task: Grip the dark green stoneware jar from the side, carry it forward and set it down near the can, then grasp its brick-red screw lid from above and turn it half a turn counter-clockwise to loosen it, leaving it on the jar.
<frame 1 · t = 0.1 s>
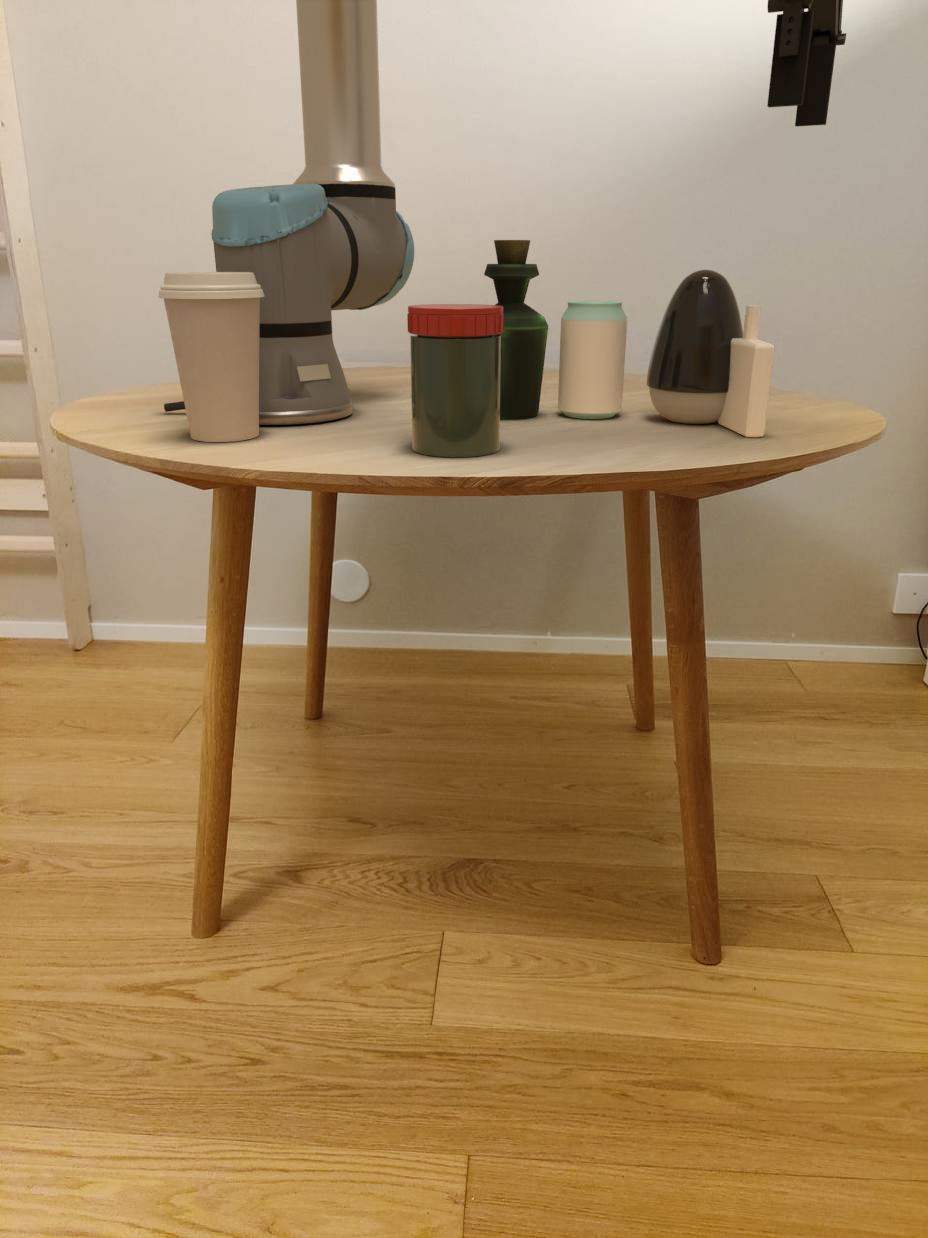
hand: (798, 116, 82), 28 cm above the table, tool pointing down, fingers open, 13 cm apart
perfume bottle: (739, 431, 93), on the table, touching black and white egg
coffee cup: (225, 438, 90), on the table
jar: (456, 448, 84), on the table
lid: (455, 312, 80), point 12 cm above the table, screwed on, not yet turned
can: (589, 416, 103), on the table
black and white egg: (691, 421, 99), on the table, touching perfume bottle
potion bottle: (508, 416, 103), on the table
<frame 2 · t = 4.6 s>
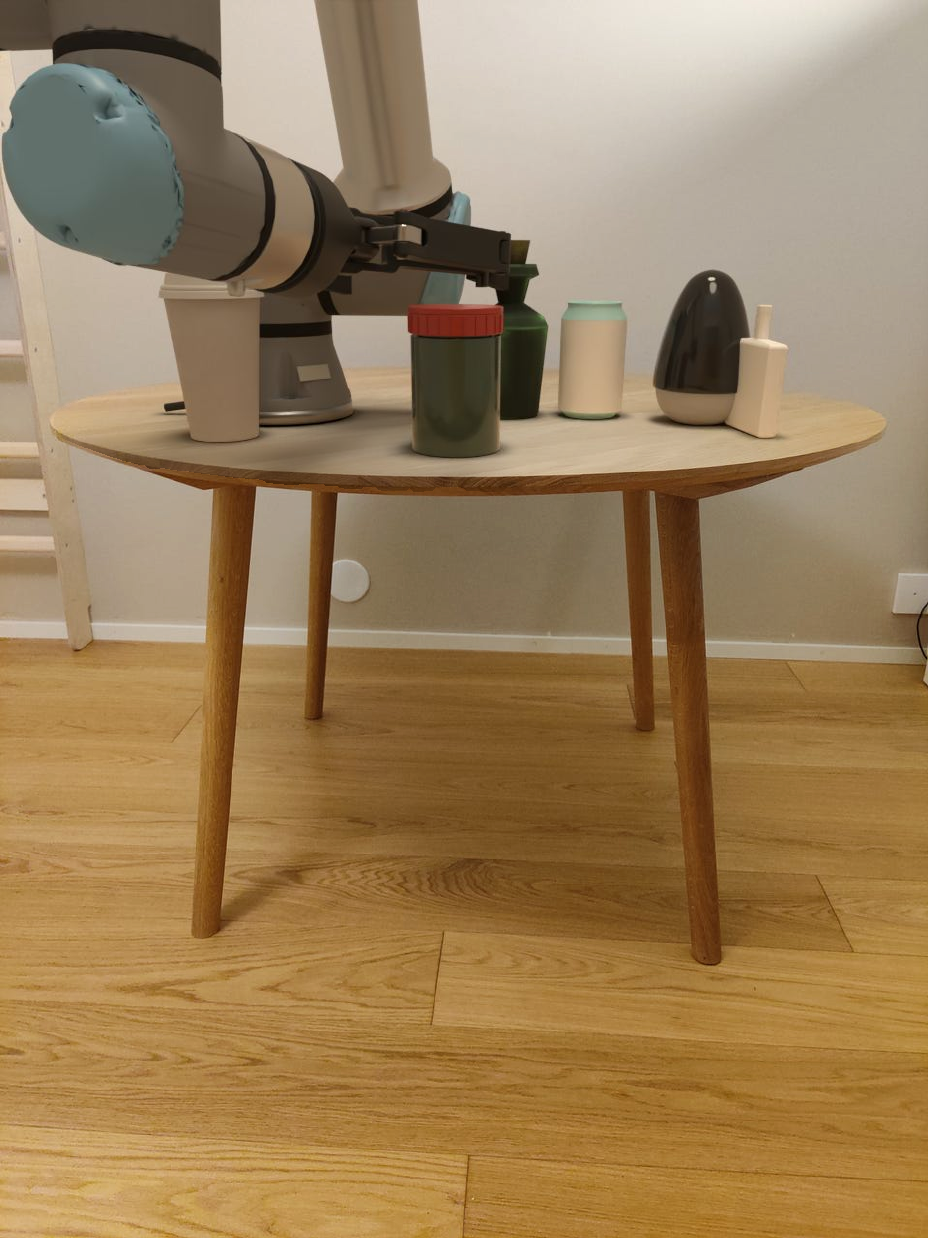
hand: (423, 274, 72), 15 cm above the table, tool horizontal, fingers open, 13 cm apart
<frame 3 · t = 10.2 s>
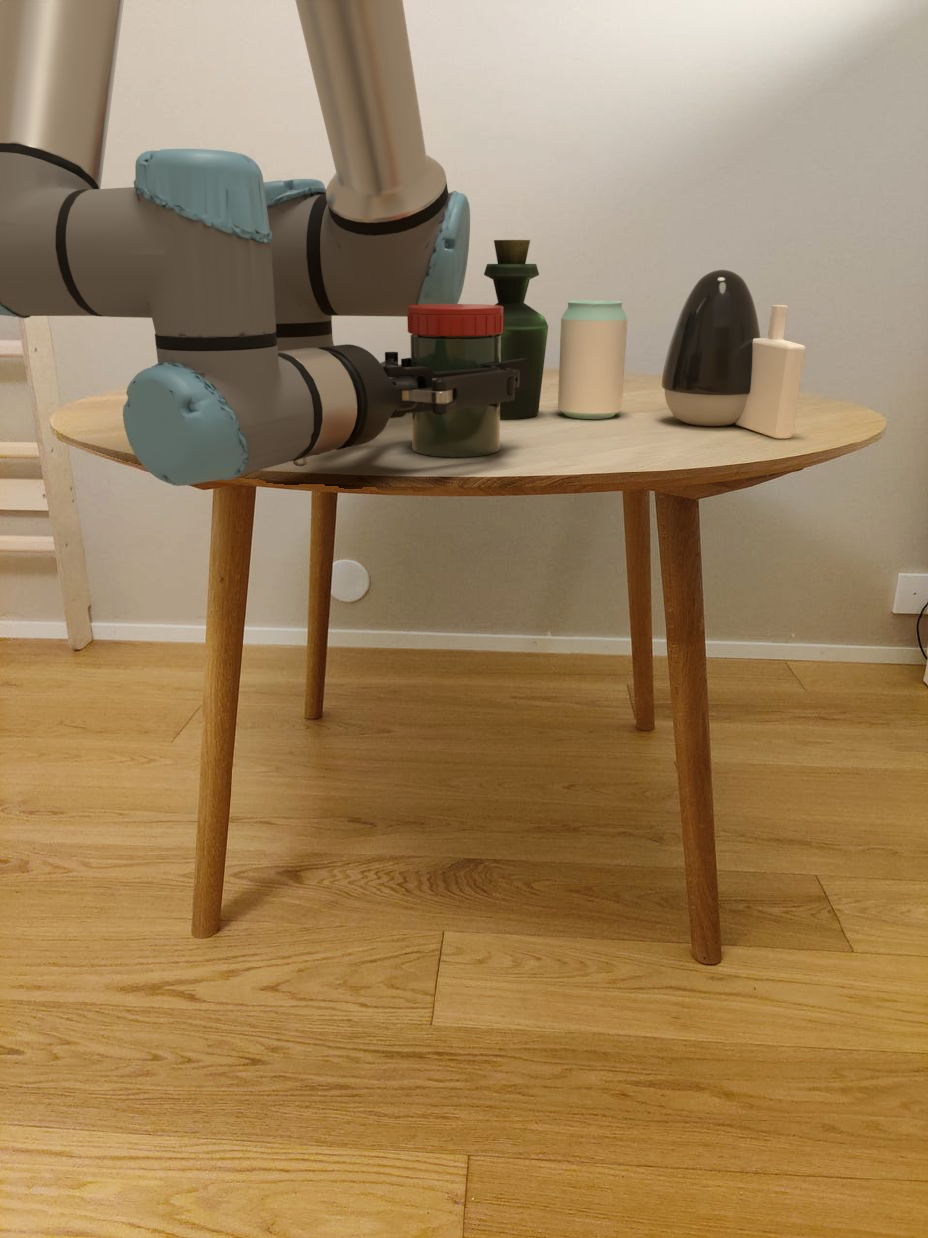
hand: (483, 370, 86), 6 cm above the table, tool horizontal, fingers closed on jar, 8 cm apart
perfume bottle: (762, 432, 93), on the table, touching black and white egg
jar: (456, 448, 84), on the table, touching gripper
black and white egg: (707, 423, 98), on the table, touching perfume bottle
everything else where it was.
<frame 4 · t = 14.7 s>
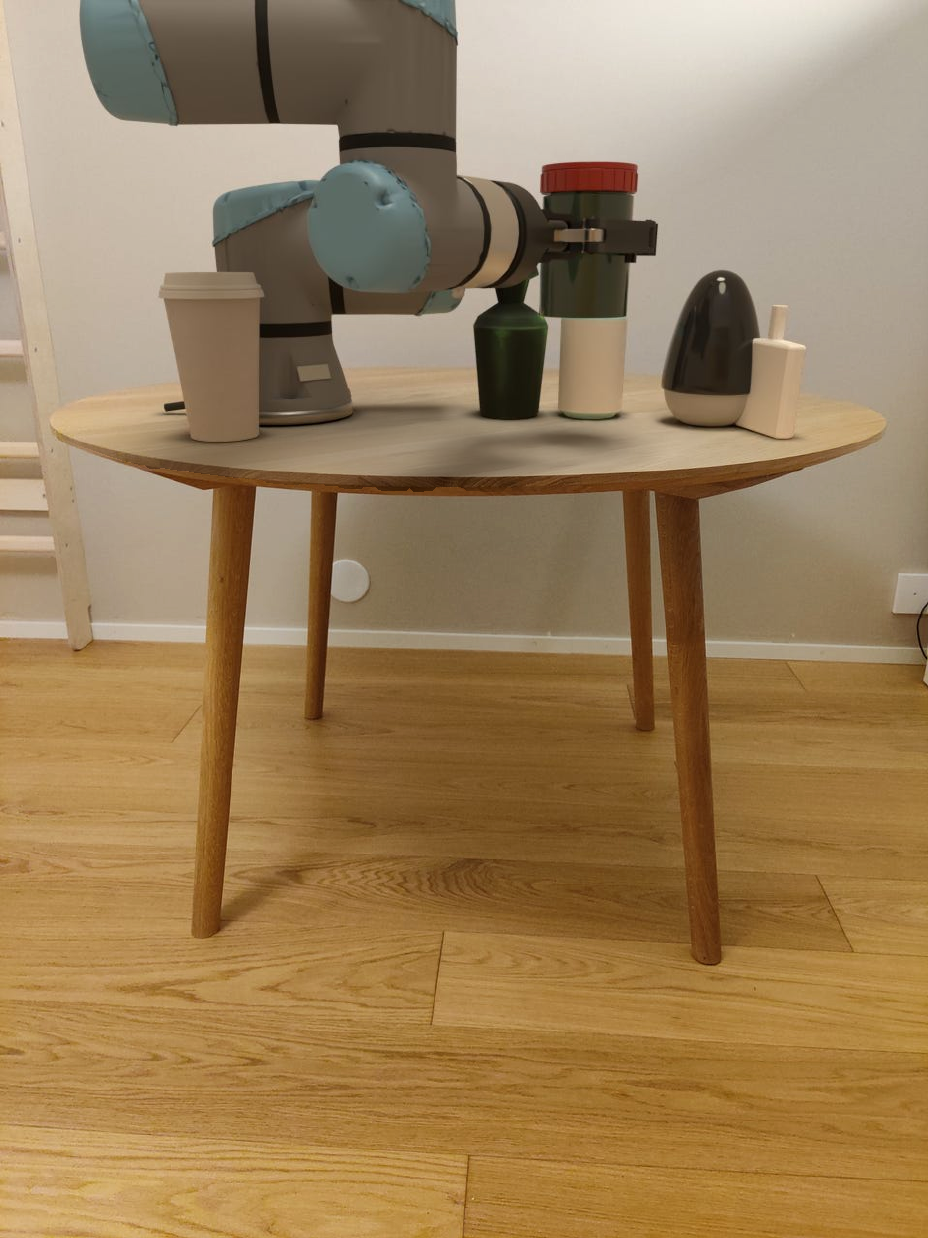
hand: (608, 240, 86), 18 cm above the table, tool horizontal, fingers closed on jar, 8 cm apart
jar: (582, 315, 85), point 11 cm above the table, touching gripper
lid: (589, 172, 80), point 23 cm above the table, screwed on, not yet turned
black and white egg: (706, 424, 98), on the table, touching perfume bottle
everything else where it was.
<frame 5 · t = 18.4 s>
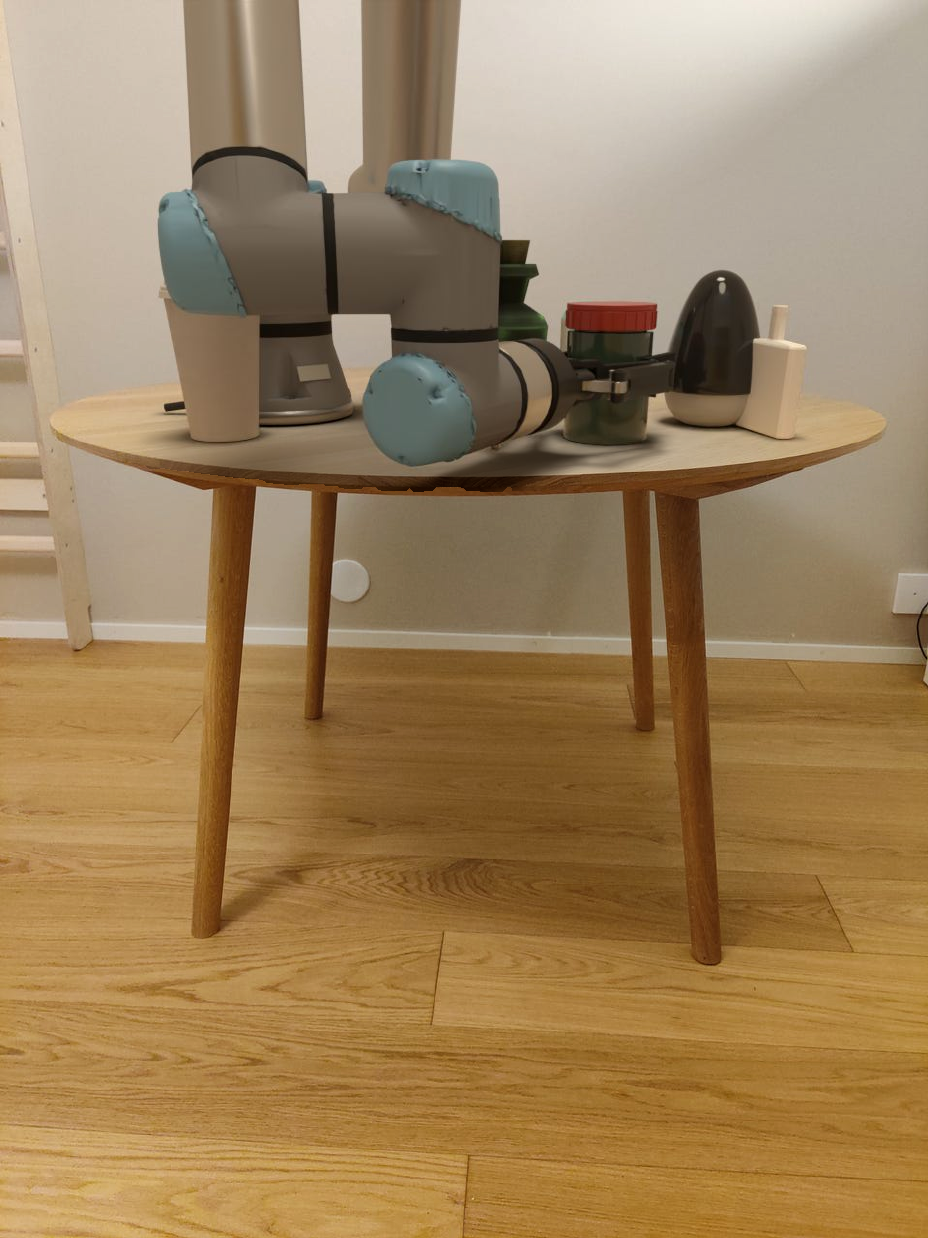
hand: (628, 364, 91), 6 cm above the table, tool horizontal, fingers closed on jar, 8 cm apart
jar: (604, 437, 90), on the table, touching gripper
lid: (611, 308, 85), point 12 cm above the table, screwed on, not yet turned
everything else where it was.
when the fingers open (6 cm above the table, at t = 18.5 s): jar stays where it is, on the table.
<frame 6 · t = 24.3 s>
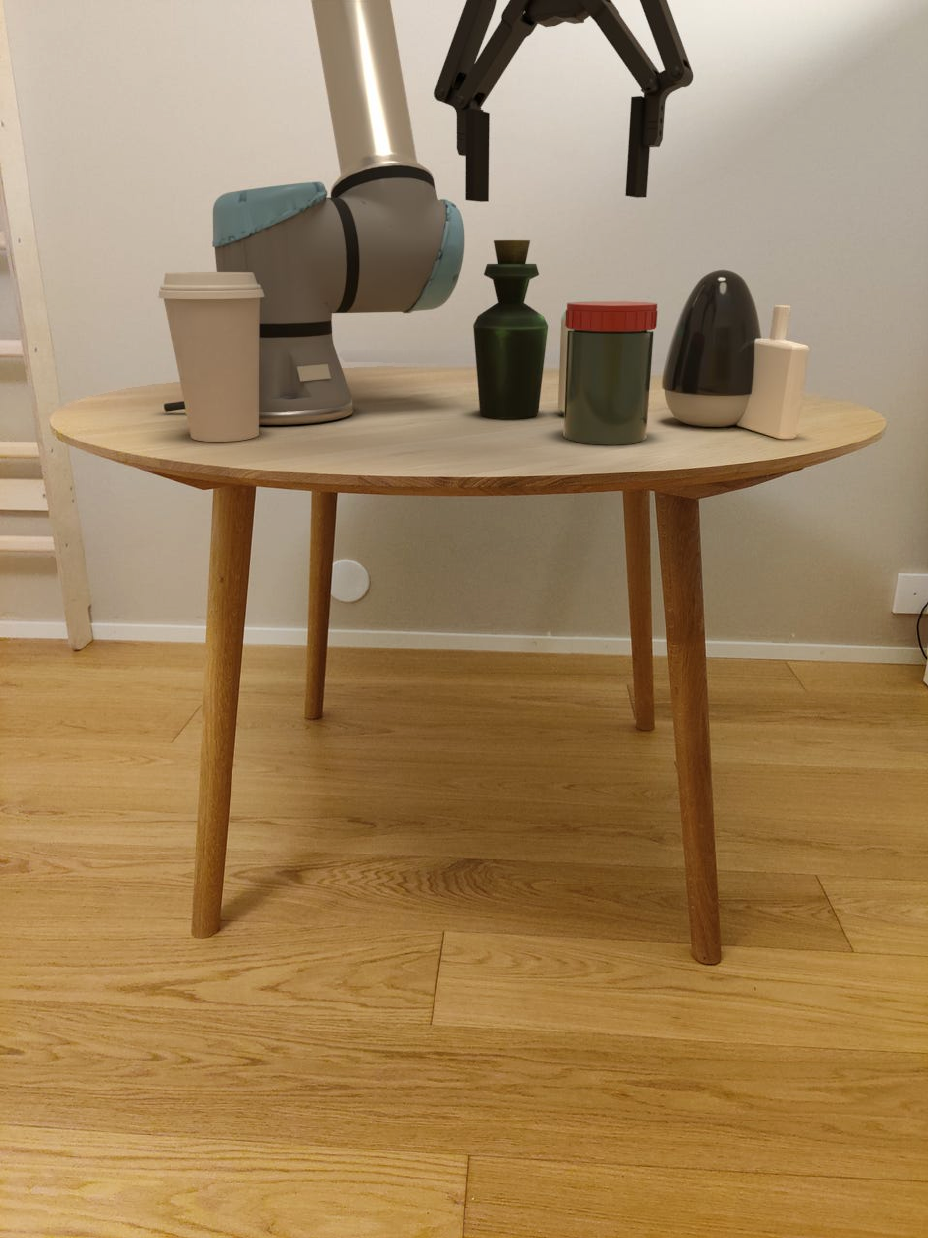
hand: (553, 199, 73), 21 cm above the table, tool pointing down, fingers open, 13 cm apart
jar: (604, 437, 90), on the table
everything else where it was.
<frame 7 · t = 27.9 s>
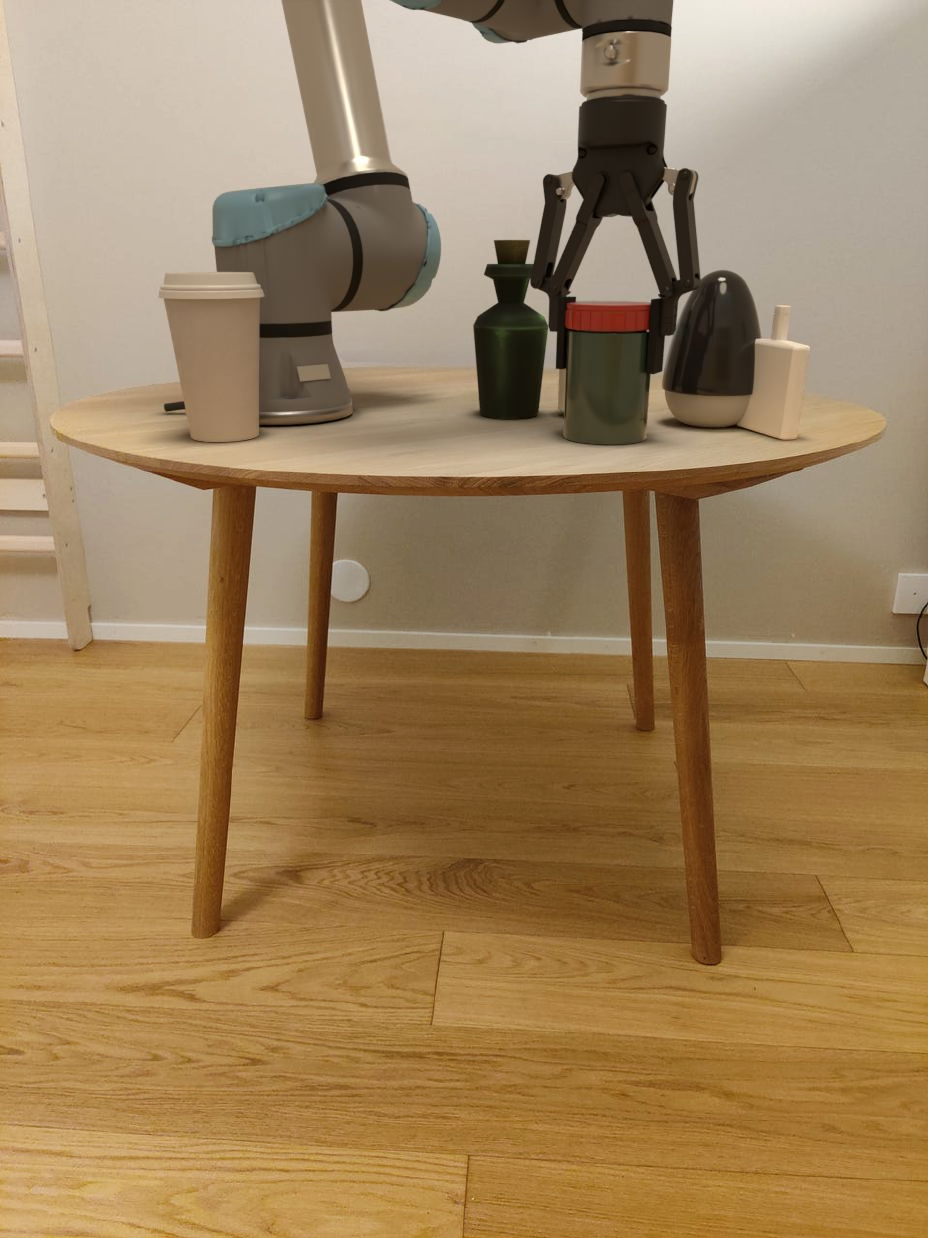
hand: (608, 369, 88), 6 cm above the table, tool pointing down, fingers closed on lid, 8 cm apart
perfume bottle: (765, 433, 92), on the table, touching black and white egg
lid: (611, 308, 86), point 12 cm above the table, screwed on, not yet turned, touching gripper
everything else where it was.
when the fingers open (6 cm above the table, at t = 32.0 s): lid stays where it is, point 12 cm above the table.
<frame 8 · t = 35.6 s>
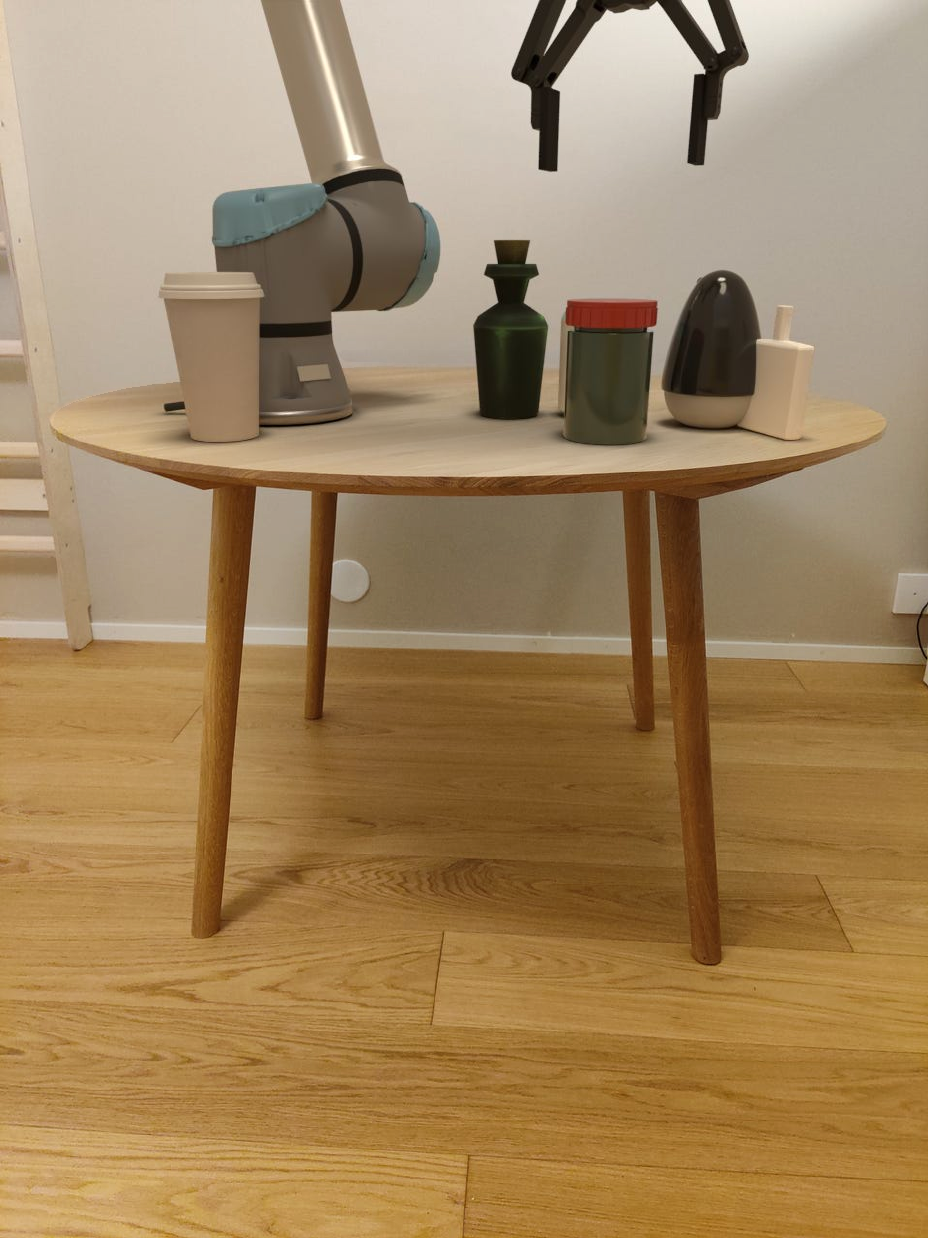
hand: (619, 167, 81), 24 cm above the table, tool pointing down, fingers open, 13 cm apart
perfume bottle: (767, 434, 92), on the table, touching black and white egg
lid: (611, 305, 85), point 12 cm above the table, turned 180° so far, risen 0.2 cm, still on its thread
at the end: lid turned 0.50 turns (still on its thread); lid is still on its thread (0.50 turns); jar 13.5 cm from the can (horizontally) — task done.
